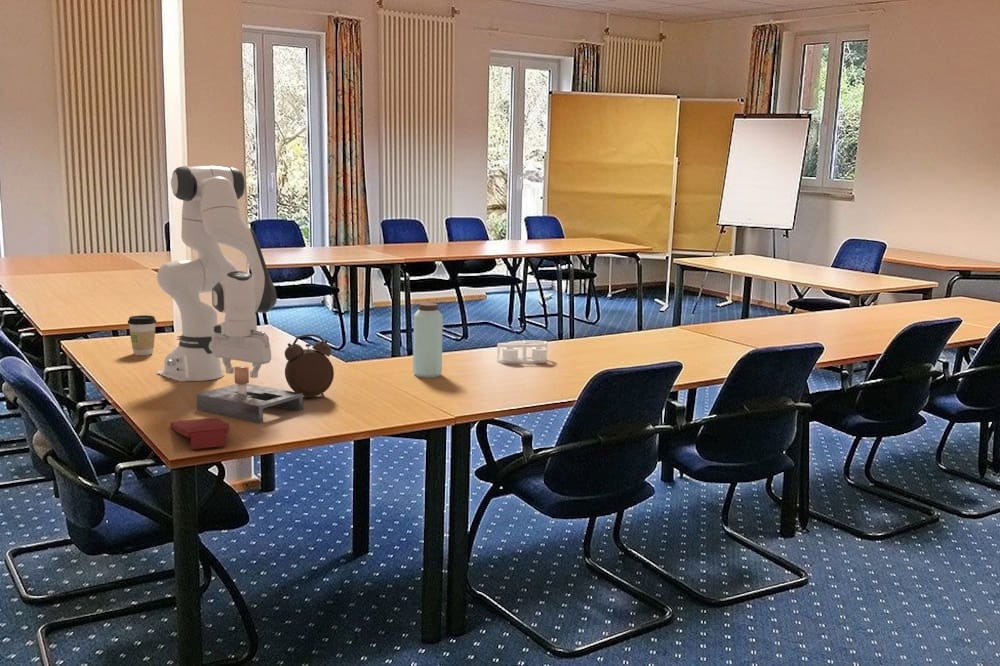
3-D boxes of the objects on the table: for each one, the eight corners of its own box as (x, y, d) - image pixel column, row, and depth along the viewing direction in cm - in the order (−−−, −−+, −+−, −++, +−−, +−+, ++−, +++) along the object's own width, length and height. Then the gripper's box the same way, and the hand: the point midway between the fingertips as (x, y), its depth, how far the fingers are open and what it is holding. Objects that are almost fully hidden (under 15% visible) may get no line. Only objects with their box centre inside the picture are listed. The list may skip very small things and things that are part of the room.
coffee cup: (136, 354, 343) (134, 314, 340) (162, 355, 343) (160, 315, 340) (124, 360, 333) (122, 318, 331) (151, 360, 333) (149, 319, 330)
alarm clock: (329, 393, 292) (328, 331, 289) (335, 399, 286) (334, 335, 282) (282, 397, 286) (281, 333, 283) (287, 402, 280) (286, 337, 276)
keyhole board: (259, 423, 256) (258, 406, 255) (196, 410, 268) (196, 394, 267) (302, 410, 272) (302, 393, 271) (242, 398, 283) (241, 382, 282)
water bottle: (439, 379, 316) (440, 306, 312) (410, 378, 317) (411, 305, 313) (443, 372, 326) (444, 302, 322) (415, 371, 327) (416, 301, 322)
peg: (242, 406, 274) (241, 364, 272) (254, 408, 272) (253, 366, 270) (230, 409, 270) (229, 367, 268) (242, 412, 268) (241, 369, 266)
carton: (170, 439, 251) (184, 450, 229) (169, 421, 251) (182, 430, 229) (216, 435, 257) (234, 444, 234) (215, 417, 256) (232, 425, 234)
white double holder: (499, 365, 342) (500, 346, 340) (494, 359, 352) (494, 340, 351) (552, 364, 346) (552, 345, 344) (545, 358, 356) (545, 340, 355)
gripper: (275, 330, 265) (276, 378, 267) (223, 323, 274) (224, 369, 277) (260, 333, 259) (261, 382, 262) (207, 326, 269) (208, 372, 271)
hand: (241, 375), depth 269 cm, fingers open, 8 cm apart
